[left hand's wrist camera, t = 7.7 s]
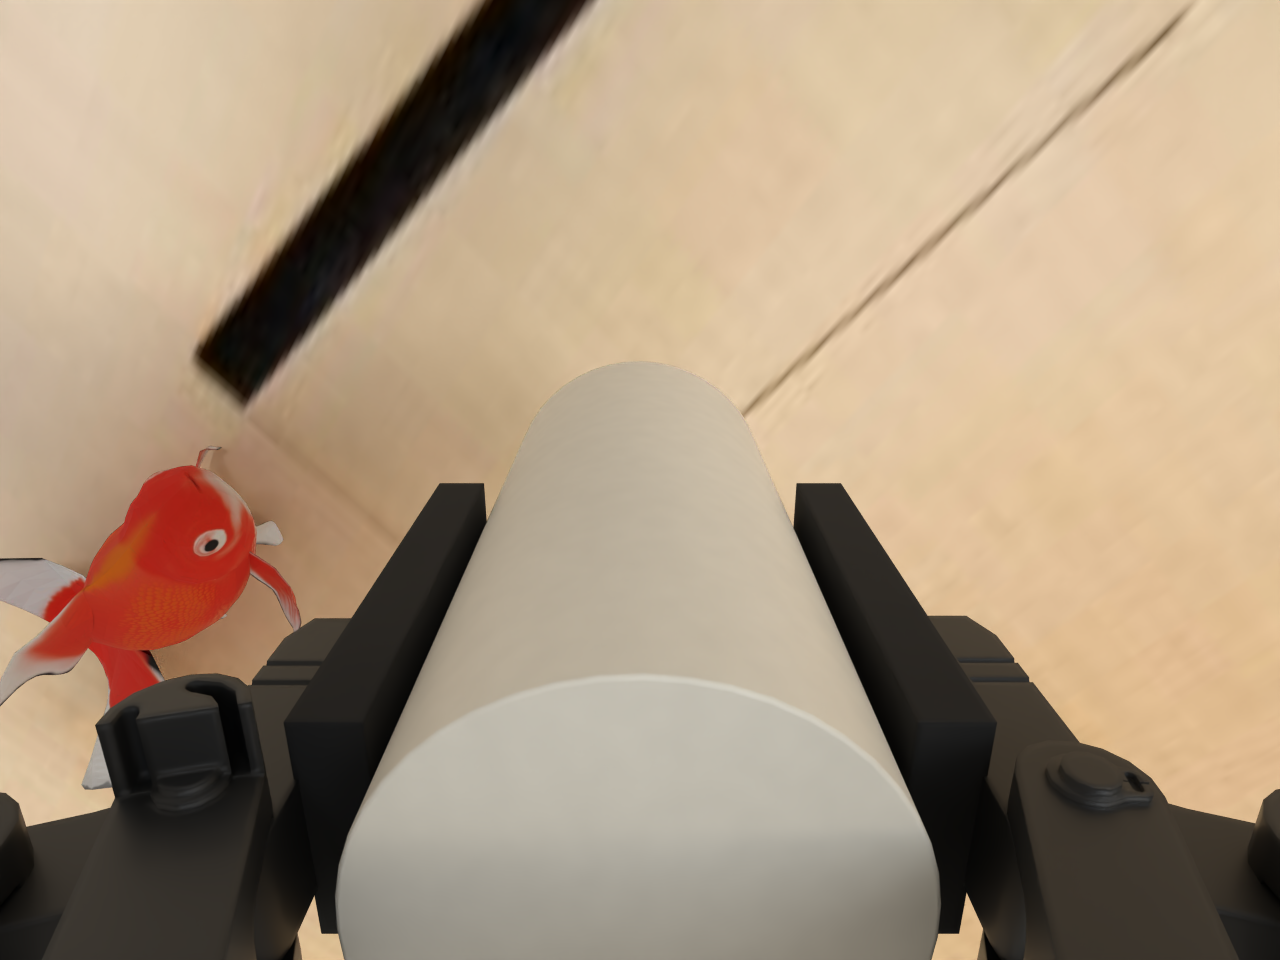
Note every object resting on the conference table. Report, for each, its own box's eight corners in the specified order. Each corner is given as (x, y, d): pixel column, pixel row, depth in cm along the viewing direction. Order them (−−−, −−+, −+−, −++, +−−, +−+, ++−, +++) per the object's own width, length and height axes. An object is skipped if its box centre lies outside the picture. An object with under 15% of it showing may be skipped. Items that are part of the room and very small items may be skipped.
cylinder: (767, 575, 19) (938, 1113, 8) (538, 599, 19) (404, 1154, 8) (752, 347, 17) (949, 643, 6) (498, 375, 17) (260, 710, 6)
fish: (449, 647, 28) (156, 832, 20) (263, 743, 37) (14, 895, 30) (295, 375, 28) (-56, 451, 20) (149, 539, 38) (-129, 635, 30)
